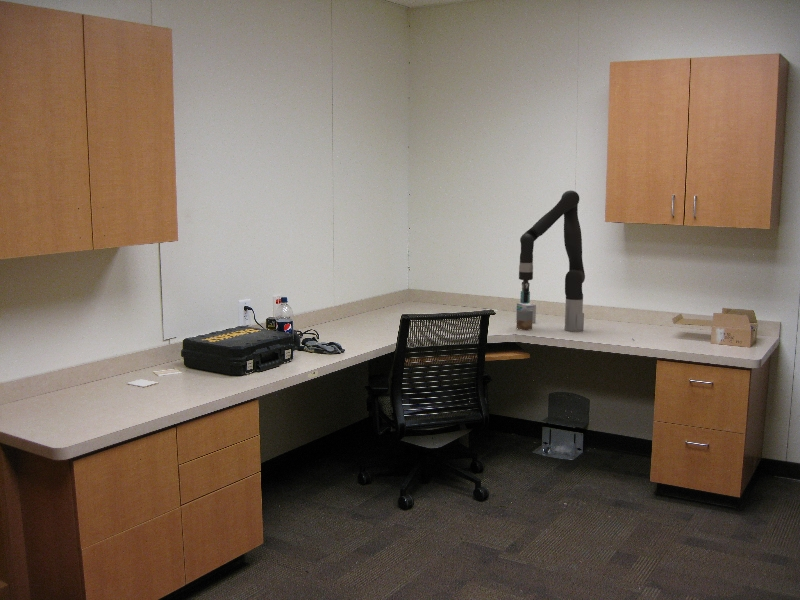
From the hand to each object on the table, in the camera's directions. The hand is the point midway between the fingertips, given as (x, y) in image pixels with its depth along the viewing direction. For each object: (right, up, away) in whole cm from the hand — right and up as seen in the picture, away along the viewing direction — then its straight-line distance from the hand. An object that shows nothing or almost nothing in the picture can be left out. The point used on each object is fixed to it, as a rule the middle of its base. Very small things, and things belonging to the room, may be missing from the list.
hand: (525, 301), depth 440 cm
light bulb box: (+4, -12, +23) cm, 26 cm away
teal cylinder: (0, 0, 0) cm, 0 cm away
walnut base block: (0, -15, +2) cm, 15 cm away
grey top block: (0, -10, +1) cm, 10 cm away
